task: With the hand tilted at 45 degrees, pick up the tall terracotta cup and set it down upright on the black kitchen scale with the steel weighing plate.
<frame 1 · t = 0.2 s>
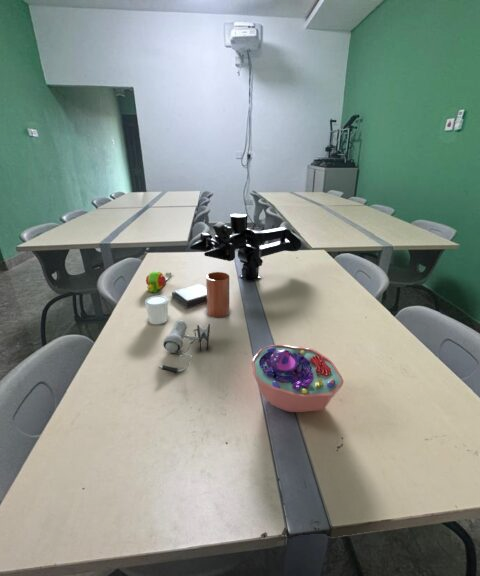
hand: (197, 250, 112), 17 cm above the table, tool horizontal, fingers open, 9 cm apart
cup: (218, 312, 106), on the table
white cylinder: (158, 320, 100), on the table
cell model: (292, 398, 71), on the table
clip-on lamp: (185, 354, 85), on the table
toy measuring tape: (160, 284, 125), on the table
scale: (194, 298, 115), on the table
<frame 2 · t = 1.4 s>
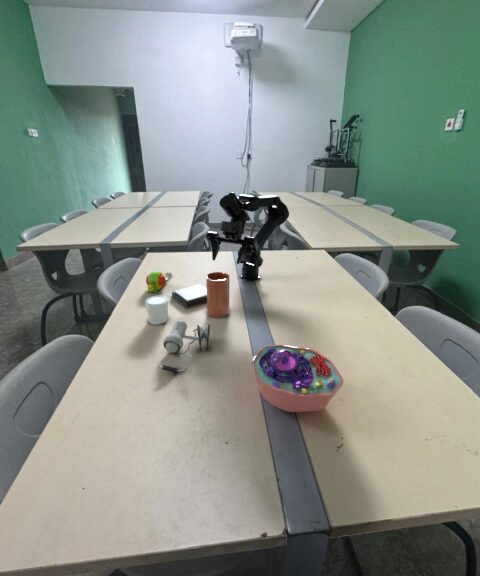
hand: (225, 262, 111), 14 cm above the table, tool tilted 45°, fingers open, 9 cm apart
nothing on the table moved.
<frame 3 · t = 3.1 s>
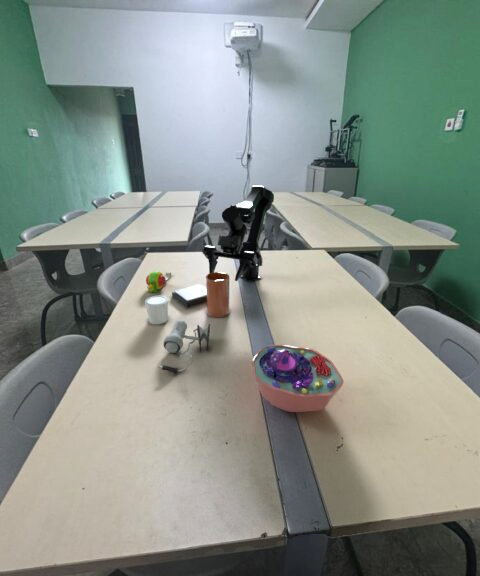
hand: (222, 278, 105), 11 cm above the table, tool tilted 45°, fingers open, 9 cm apart
nothing on the table moved.
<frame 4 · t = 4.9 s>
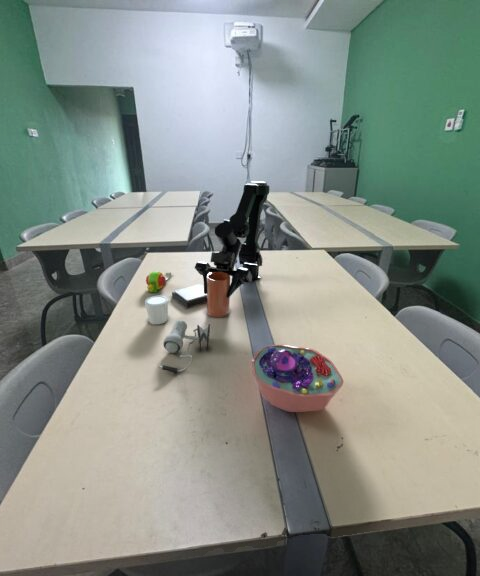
hand: (216, 295, 102), 7 cm above the table, tool tilted 45°, fingers closed on cup, 7 cm apart
cup: (218, 311, 106), on the table, touching gripper
everything else where it was.
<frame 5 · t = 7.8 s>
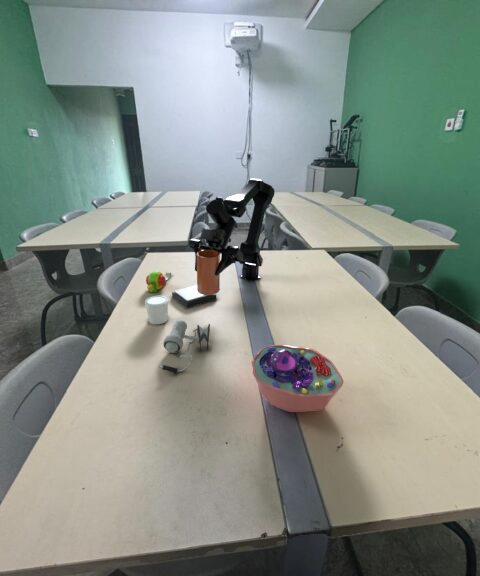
hand: (205, 273, 102), 13 cm above the table, tool tilted 45°, fingers closed on cup, 7 cm apart
cup: (208, 290, 106), point 7 cm above the table, touching gripper
everything else where it was.
when the fingers open (9 cm above the table, at t = 11.0 s): cup stays where it is, resting on scale.
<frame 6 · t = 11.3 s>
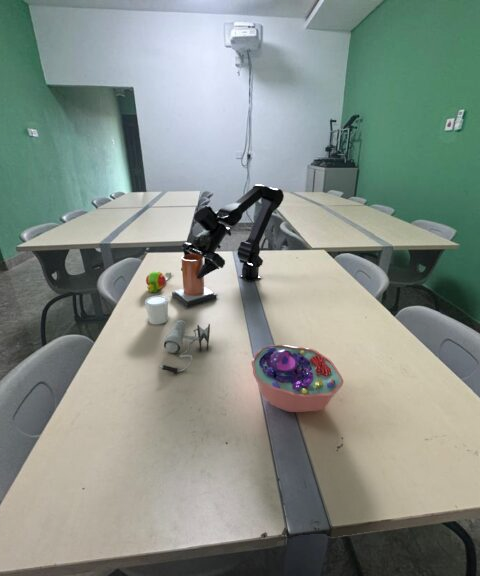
hand: (189, 274, 110), 10 cm above the table, tool tilted 45°, fingers open, 9 cm apart
cup: (193, 291, 114), point 3 cm above the table, touching scale
everything else where it was.
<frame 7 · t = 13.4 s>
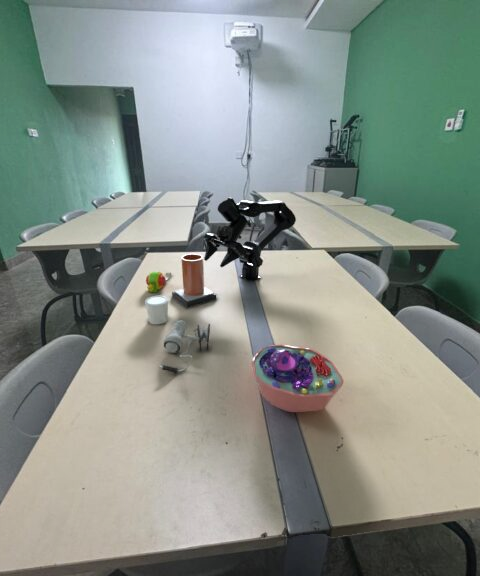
hand: (212, 263, 116), 11 cm above the table, tool tilted 45°, fingers open, 9 cm apart
nothing on the table moved.
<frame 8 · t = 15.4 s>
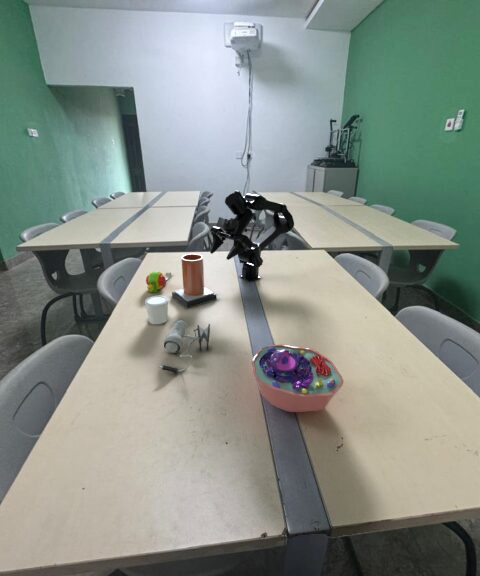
hand: (218, 256, 117), 14 cm above the table, tool tilted 45°, fingers open, 9 cm apart
nothing on the table moved.
at the end: cup inside the target area on the scale (0.4 cm from its centre), point 2.5 cm above the scale's base; cup tilted 0°; the gripper is holding nothing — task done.
